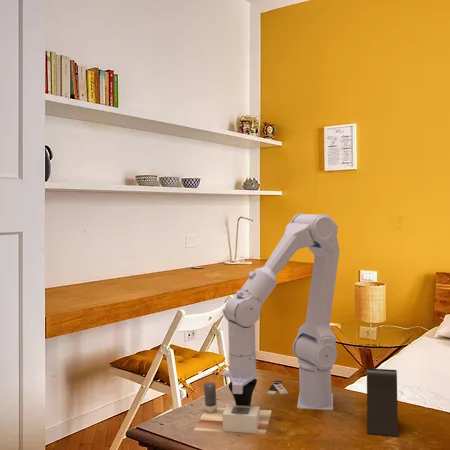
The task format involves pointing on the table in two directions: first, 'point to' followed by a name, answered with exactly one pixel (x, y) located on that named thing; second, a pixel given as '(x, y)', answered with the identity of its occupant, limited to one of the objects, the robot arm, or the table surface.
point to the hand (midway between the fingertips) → (243, 414)
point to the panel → (216, 422)
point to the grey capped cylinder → (210, 397)
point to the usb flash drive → (277, 388)
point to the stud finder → (241, 418)
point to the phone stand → (382, 402)
